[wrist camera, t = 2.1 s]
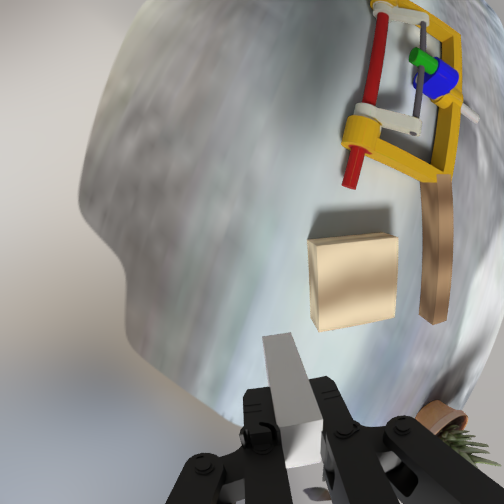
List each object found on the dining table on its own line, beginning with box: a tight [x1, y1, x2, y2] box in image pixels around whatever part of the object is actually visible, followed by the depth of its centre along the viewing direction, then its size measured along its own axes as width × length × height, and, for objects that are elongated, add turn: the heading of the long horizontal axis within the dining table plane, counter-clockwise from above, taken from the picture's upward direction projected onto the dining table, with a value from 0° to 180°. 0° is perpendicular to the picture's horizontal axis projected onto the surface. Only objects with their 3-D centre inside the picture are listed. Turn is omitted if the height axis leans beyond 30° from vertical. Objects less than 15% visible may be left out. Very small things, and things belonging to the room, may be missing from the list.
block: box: [307, 232, 398, 332], centre depth 29 cm, size 9×9×4 cm
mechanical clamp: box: [341, 0, 480, 190], centre depth 23 cm, size 18×6×30 cm
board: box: [419, 174, 453, 325], centre depth 29 cm, size 18×2×4 cm, turn 7°
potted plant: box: [415, 400, 501, 468], centre depth 25 cm, size 10×10×25 cm
